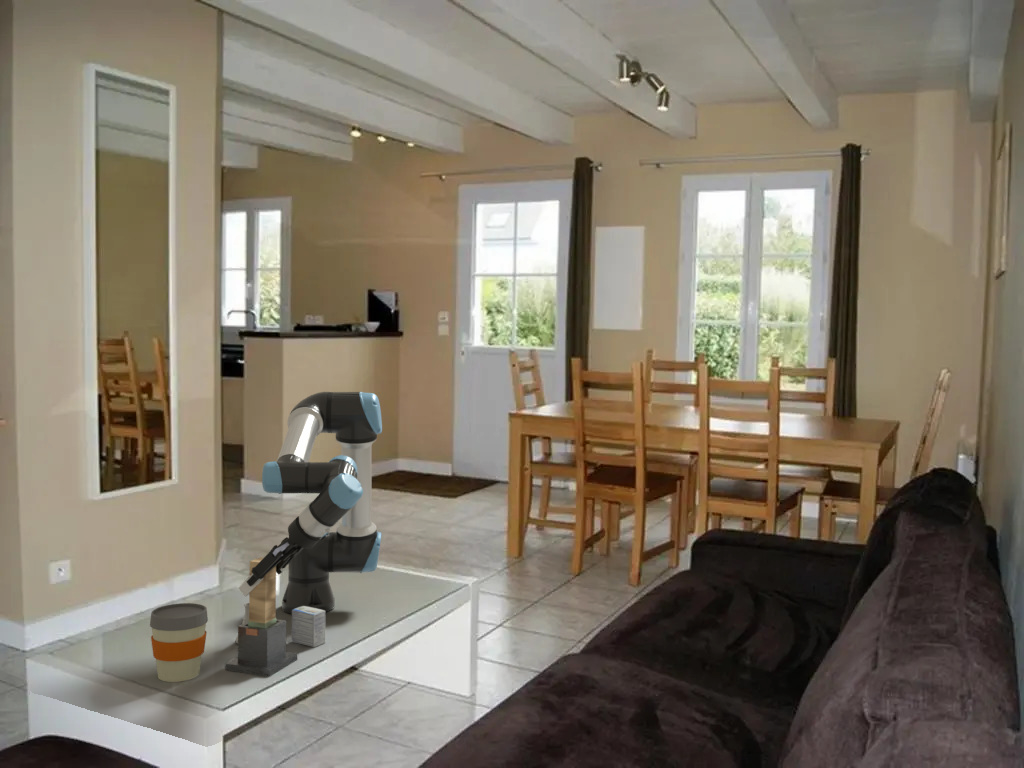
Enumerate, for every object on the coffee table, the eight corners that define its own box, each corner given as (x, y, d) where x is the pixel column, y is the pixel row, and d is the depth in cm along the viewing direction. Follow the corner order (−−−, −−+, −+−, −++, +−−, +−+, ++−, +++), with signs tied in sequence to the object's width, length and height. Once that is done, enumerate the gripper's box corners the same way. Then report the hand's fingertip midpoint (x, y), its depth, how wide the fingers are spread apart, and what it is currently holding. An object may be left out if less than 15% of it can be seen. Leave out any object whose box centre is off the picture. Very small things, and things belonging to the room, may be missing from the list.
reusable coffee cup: (138, 682, 200) (138, 616, 199) (169, 663, 212) (169, 601, 212) (189, 687, 198) (189, 620, 197) (217, 667, 210) (218, 604, 210)
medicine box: (325, 643, 229) (326, 610, 229) (313, 648, 225) (314, 614, 225) (303, 637, 233) (303, 605, 233) (291, 642, 229) (291, 609, 229)
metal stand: (254, 653, 220) (255, 613, 220) (297, 659, 216) (297, 619, 216) (225, 669, 209) (225, 627, 208) (269, 676, 205) (270, 633, 205)
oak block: (259, 630, 215) (260, 557, 214) (276, 632, 214) (277, 558, 213) (248, 636, 211) (248, 561, 210) (265, 638, 209) (265, 563, 209)
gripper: (300, 546, 198) (236, 611, 204) (338, 531, 215) (278, 591, 221) (279, 521, 200) (217, 586, 205) (319, 508, 216) (260, 568, 222)
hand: (249, 588), depth 213 cm, fingers closed on oak block, 4 cm apart
